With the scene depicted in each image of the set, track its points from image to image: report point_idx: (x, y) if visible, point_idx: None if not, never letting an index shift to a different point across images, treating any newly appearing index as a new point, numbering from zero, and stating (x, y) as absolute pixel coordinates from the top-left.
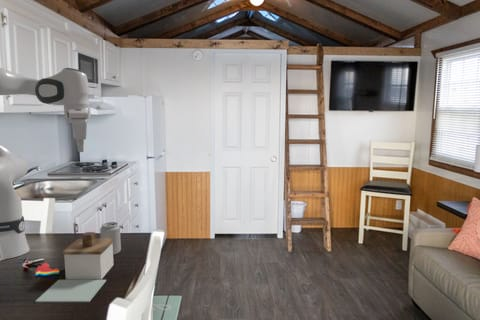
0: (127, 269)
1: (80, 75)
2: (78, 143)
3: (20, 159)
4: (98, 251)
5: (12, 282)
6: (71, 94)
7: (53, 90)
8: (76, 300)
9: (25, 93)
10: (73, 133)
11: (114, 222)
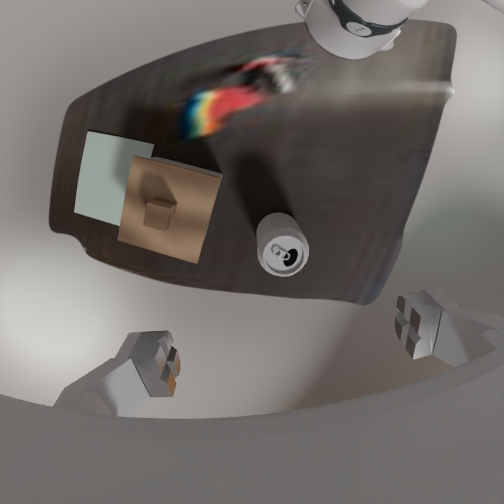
0: (176, 264)
1: None
2: (77, 391)
3: None
4: (119, 235)
5: (174, 64)
6: None
7: None
8: (77, 193)
9: None
10: (490, 417)
11: (299, 267)
